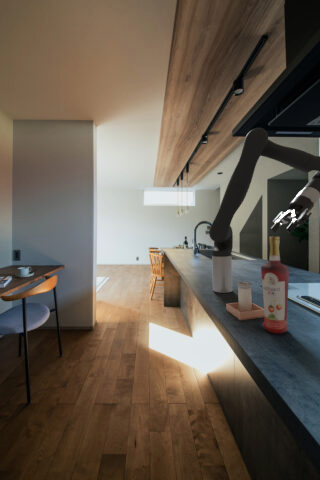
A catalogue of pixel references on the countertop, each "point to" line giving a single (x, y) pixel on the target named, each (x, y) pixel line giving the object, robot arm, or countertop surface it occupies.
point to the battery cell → (244, 296)
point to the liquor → (275, 290)
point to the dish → (255, 313)
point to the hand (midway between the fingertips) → (279, 231)
